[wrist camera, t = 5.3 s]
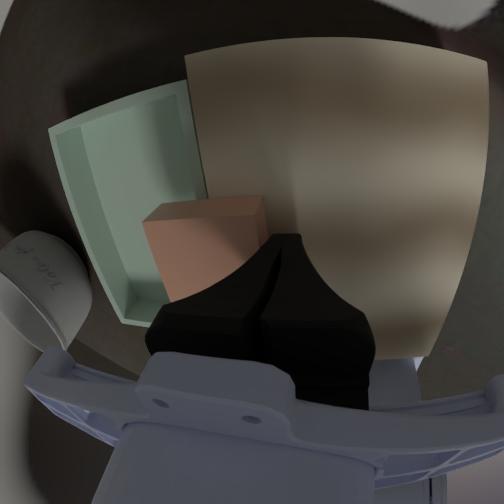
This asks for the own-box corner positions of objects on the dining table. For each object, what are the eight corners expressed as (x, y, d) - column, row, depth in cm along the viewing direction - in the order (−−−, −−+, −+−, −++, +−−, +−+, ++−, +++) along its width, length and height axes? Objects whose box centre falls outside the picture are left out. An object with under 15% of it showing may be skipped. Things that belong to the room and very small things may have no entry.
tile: (274, 286, 15) (268, 313, 13) (186, 284, 16) (173, 308, 14) (262, 195, 12) (254, 214, 11) (161, 203, 13) (141, 222, 12)
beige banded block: (417, 316, 19) (428, 356, 16) (254, 316, 22) (243, 357, 19) (449, 63, 10) (486, 61, 6) (214, 61, 13) (184, 55, 9)
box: (246, 307, 22) (237, 336, 19) (137, 299, 24) (121, 323, 21) (207, 79, 13) (186, 79, 11) (77, 119, 15) (48, 129, 13)
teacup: (100, 233, 21) (37, 296, 14) (113, 320, 27) (75, 378, 20) (8, 200, 21) (-45, 240, 14) (28, 278, 27) (-10, 319, 21)
